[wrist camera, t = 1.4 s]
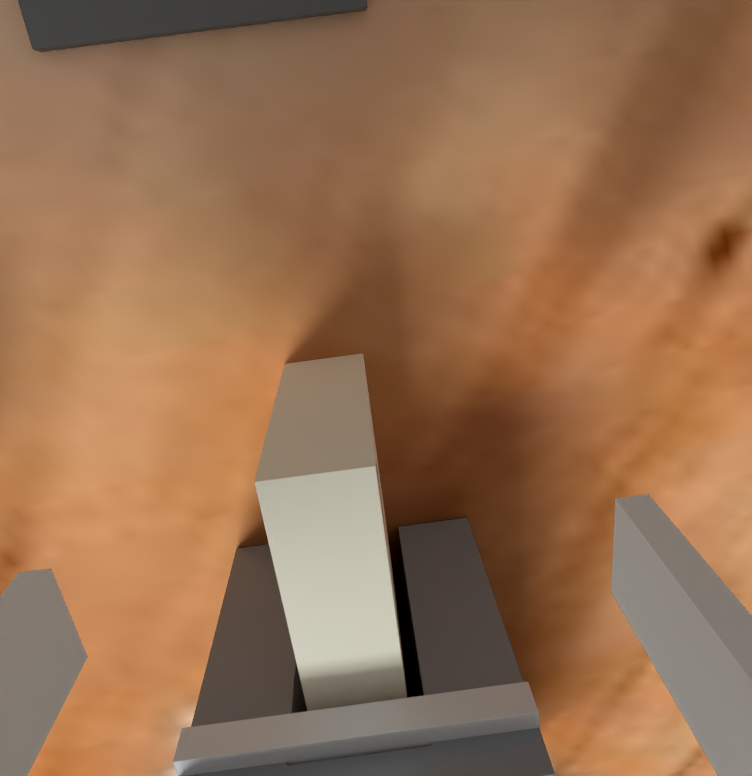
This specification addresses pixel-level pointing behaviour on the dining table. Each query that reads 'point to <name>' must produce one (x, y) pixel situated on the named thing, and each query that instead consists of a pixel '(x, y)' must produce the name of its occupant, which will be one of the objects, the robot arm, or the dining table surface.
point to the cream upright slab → (331, 535)
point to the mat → (157, 18)
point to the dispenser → (377, 719)
